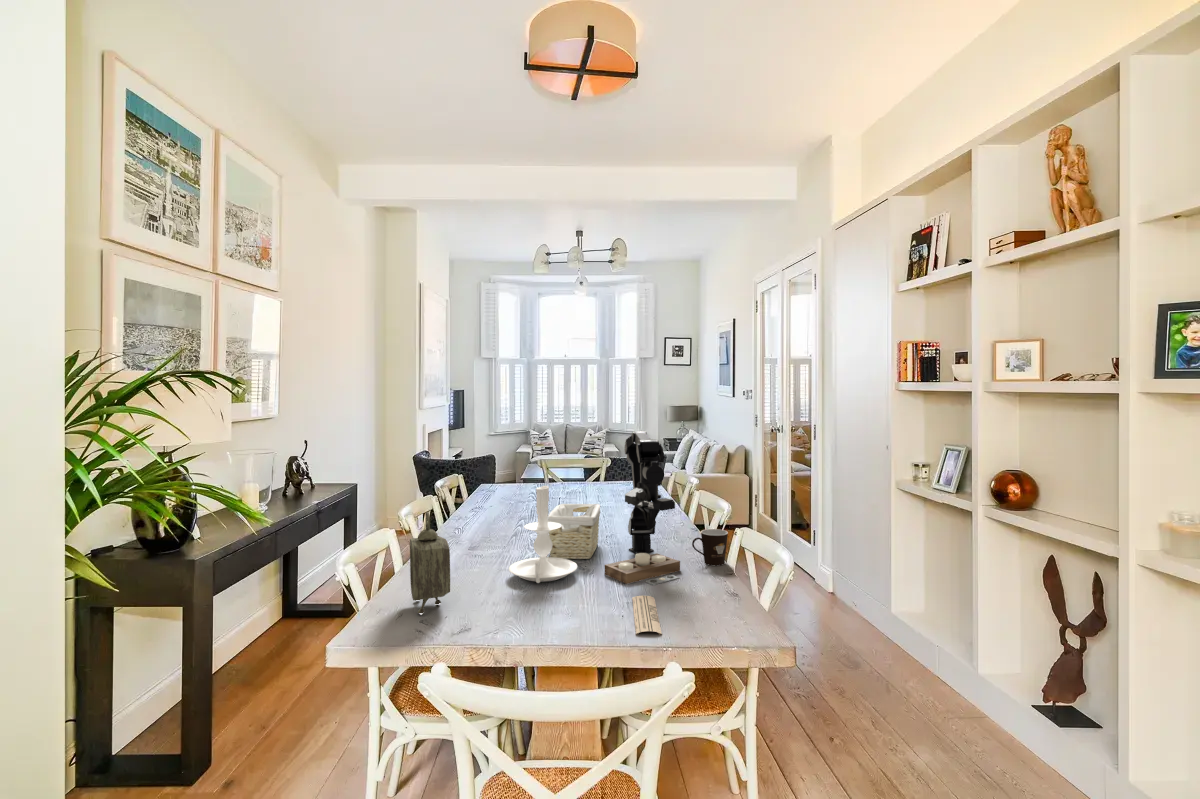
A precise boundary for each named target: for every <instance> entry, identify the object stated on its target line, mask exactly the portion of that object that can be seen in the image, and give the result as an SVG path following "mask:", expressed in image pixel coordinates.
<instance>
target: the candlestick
mask: <svg viewBox="0 0 1200 799" xmlns="http://www.w3.org/2000/svg"><path fill="white" fill-rule="evenodd" d="M535 490H536V505H535V507H536V514H537V521H536V522H529V523H527V524H525V525H524V526H523V528H524V529H525V530H528V531H532V532H535V533H537V535H536V538H535V540H534V542H533V549H534V552H535V553H536V554H537V555H538V556H539V557H531V558H526V559H522V560H518V561H515V562H513V563H512V564H511V565H509V567H508V572H510V573H511V574H512V575H515V576H517V577H519V578H520V579H523V580H526V581H530V582H536V584H540V583H541V582H551V581H557V580H559V579H563V578H565V577H566V576H568V575H569V574H571V573H574V572H575V571H576V570H577V569H578V564H577V563H576V562H574V561H572V559H563V558H555V557H550V556H548V555H550V551H551V549H552V545H553V544H552V541H551V539H550V537H549V532H550V531H551V530H555V529H558V528H560V527H561V526H562V525H561V524H559V523H555V522H548V516H549V514H550V512H549V501H550V496H549V494H550V491H549V490H550V488H549V485H543V486H542V485H540V487H536V489H535Z"/></svg>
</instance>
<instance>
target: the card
mask: <svg viewBox="0 0 1200 799" xmlns="http://www.w3.org/2000/svg"><path fill="white" fill-rule="evenodd" d="M678 579H680V577H679V576H676V575H674V574H666V575H662V576H658V577H654V578H650V579H646V580H645V581H644V583H646V584H649V585H651V586H656V585H658V584H662V583H668V582H671V581H675V580H678Z"/></svg>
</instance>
